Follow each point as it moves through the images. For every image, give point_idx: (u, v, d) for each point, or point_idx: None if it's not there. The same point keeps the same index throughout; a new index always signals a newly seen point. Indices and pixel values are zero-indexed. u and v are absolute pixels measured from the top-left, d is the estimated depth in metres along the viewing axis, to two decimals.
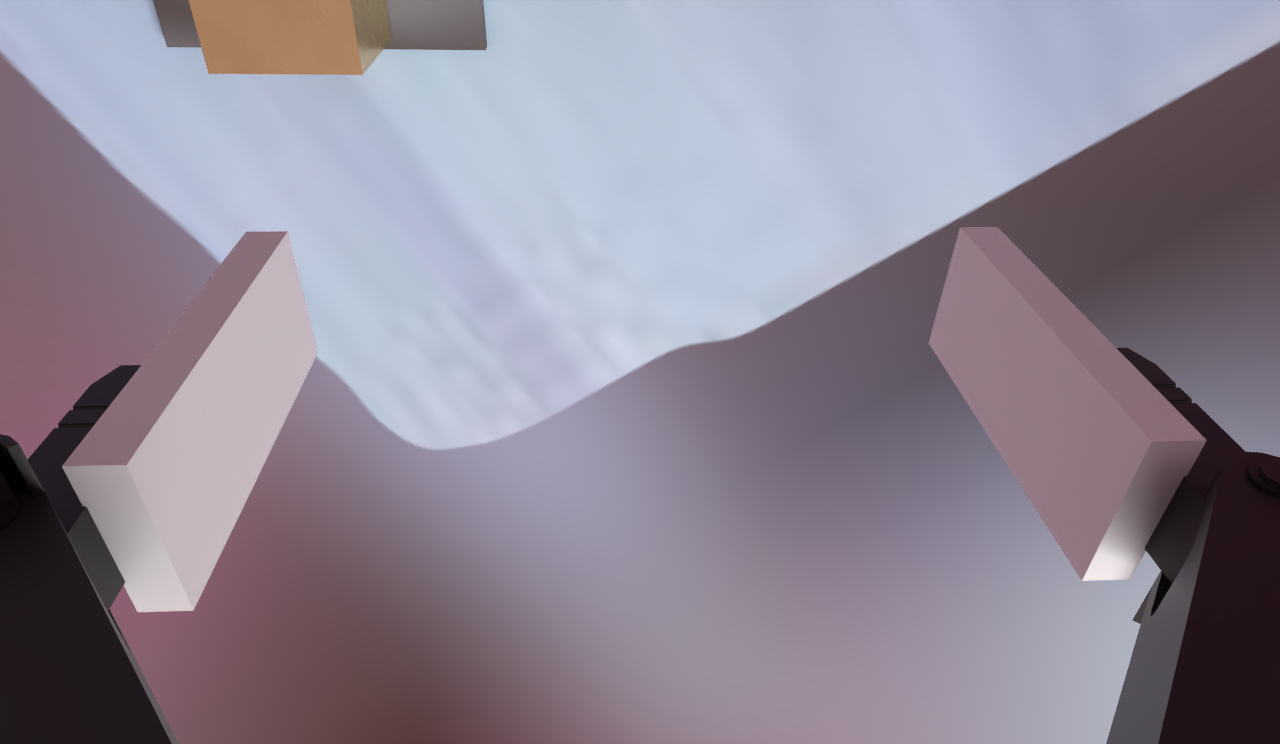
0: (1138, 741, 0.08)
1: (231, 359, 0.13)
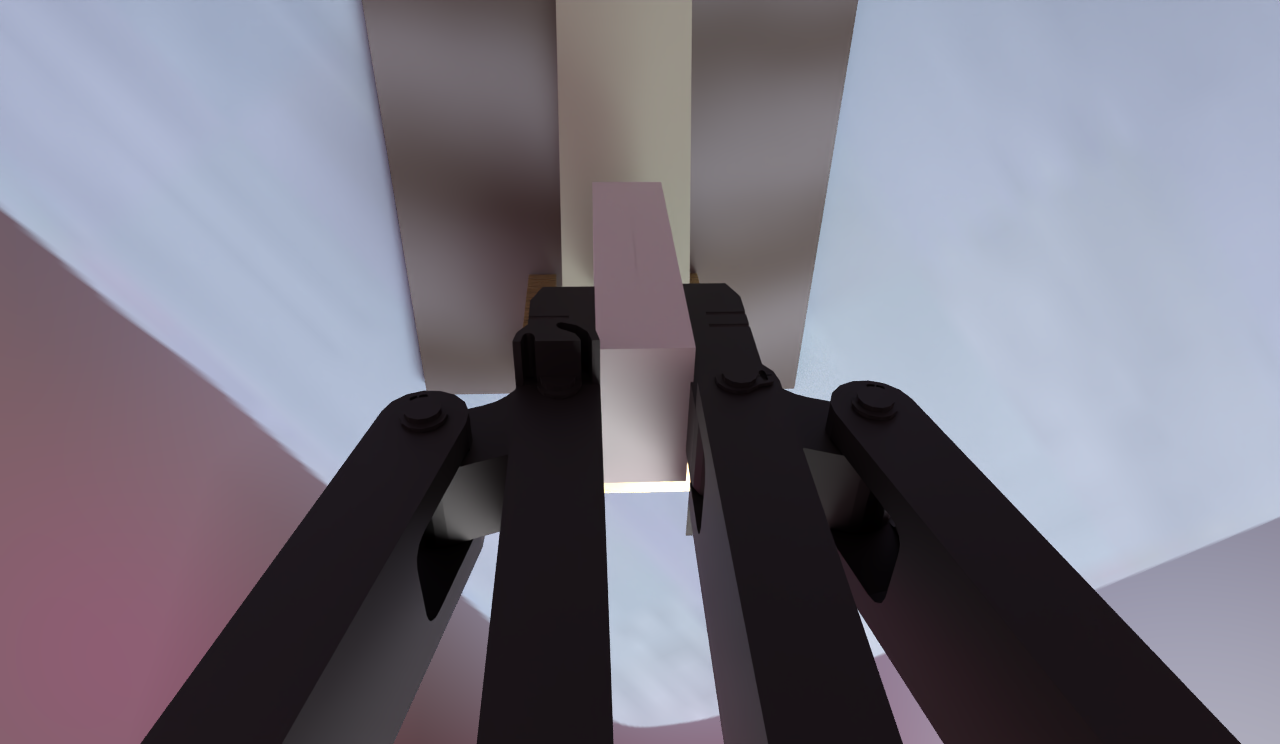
0: (737, 670, 0.09)
1: None
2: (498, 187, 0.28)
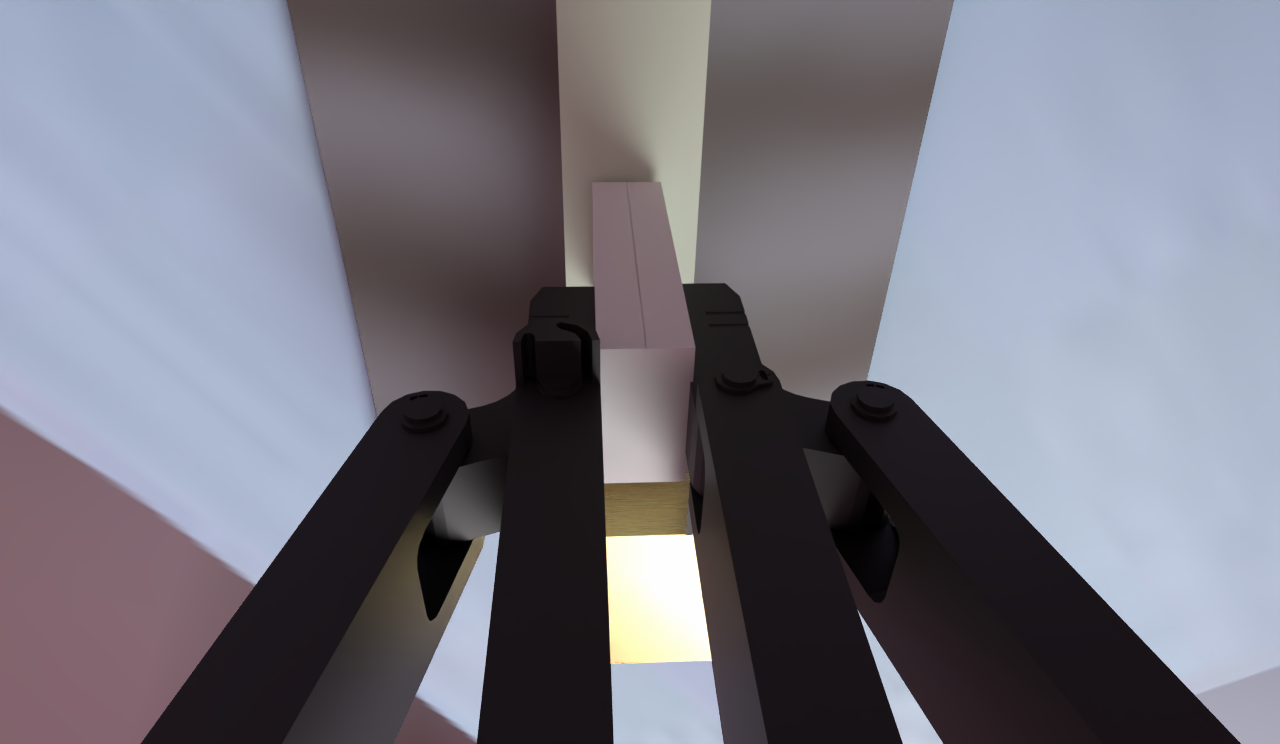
0: (737, 670, 0.09)
1: None
2: (480, 280, 0.22)
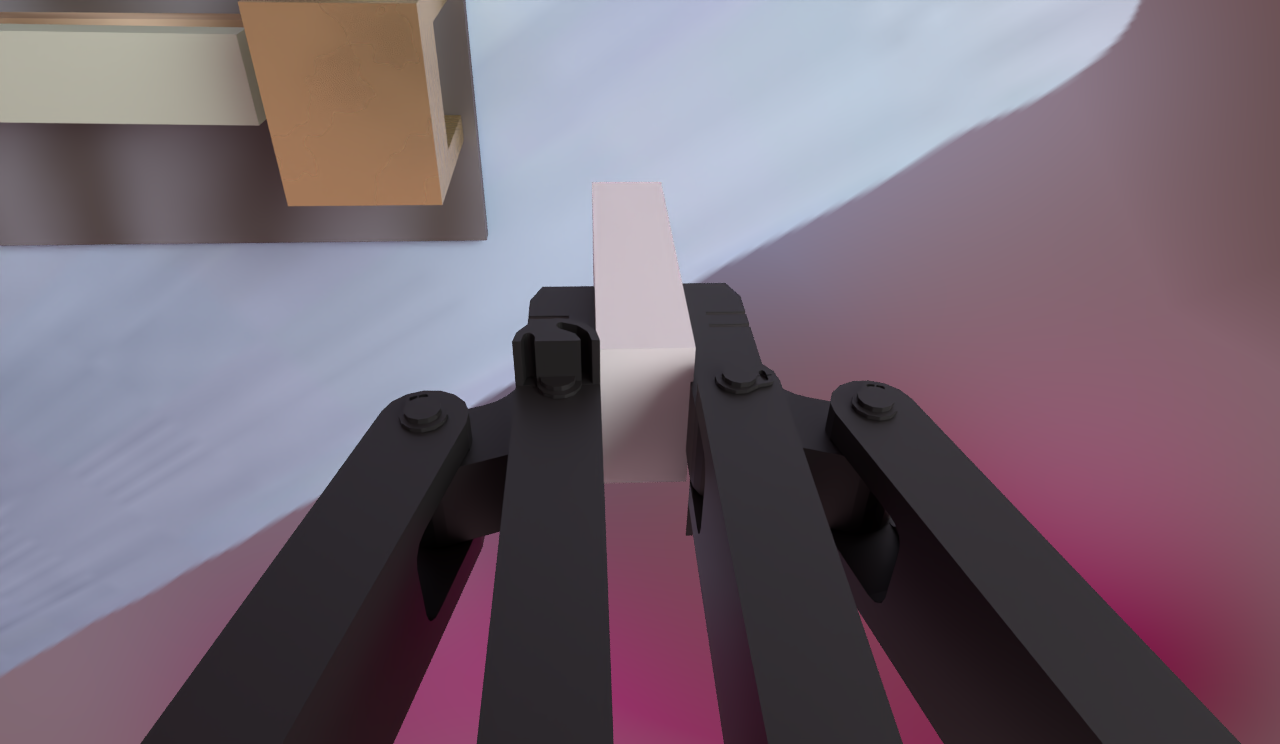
0: (737, 670, 0.09)
1: None
2: (253, 160, 0.32)
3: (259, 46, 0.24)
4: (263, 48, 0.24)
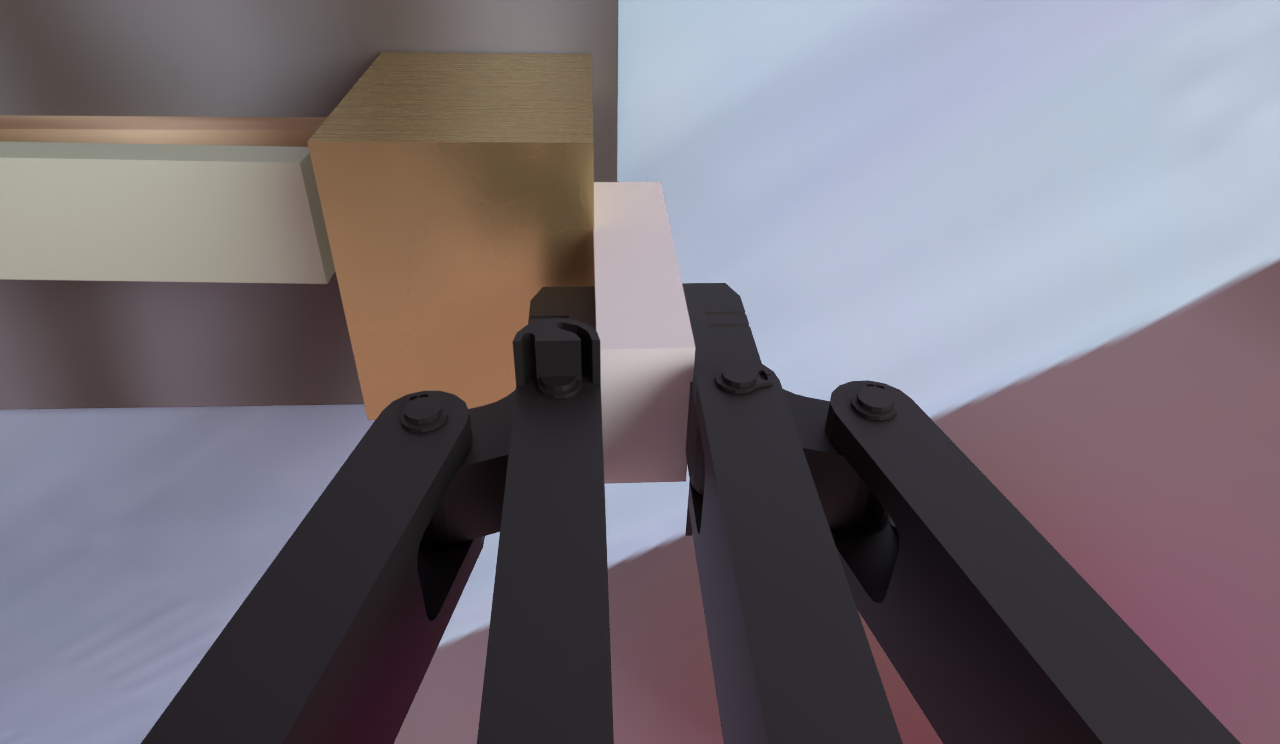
0: (737, 670, 0.09)
1: None
2: (308, 306, 0.23)
3: (338, 206, 0.15)
4: (344, 208, 0.15)
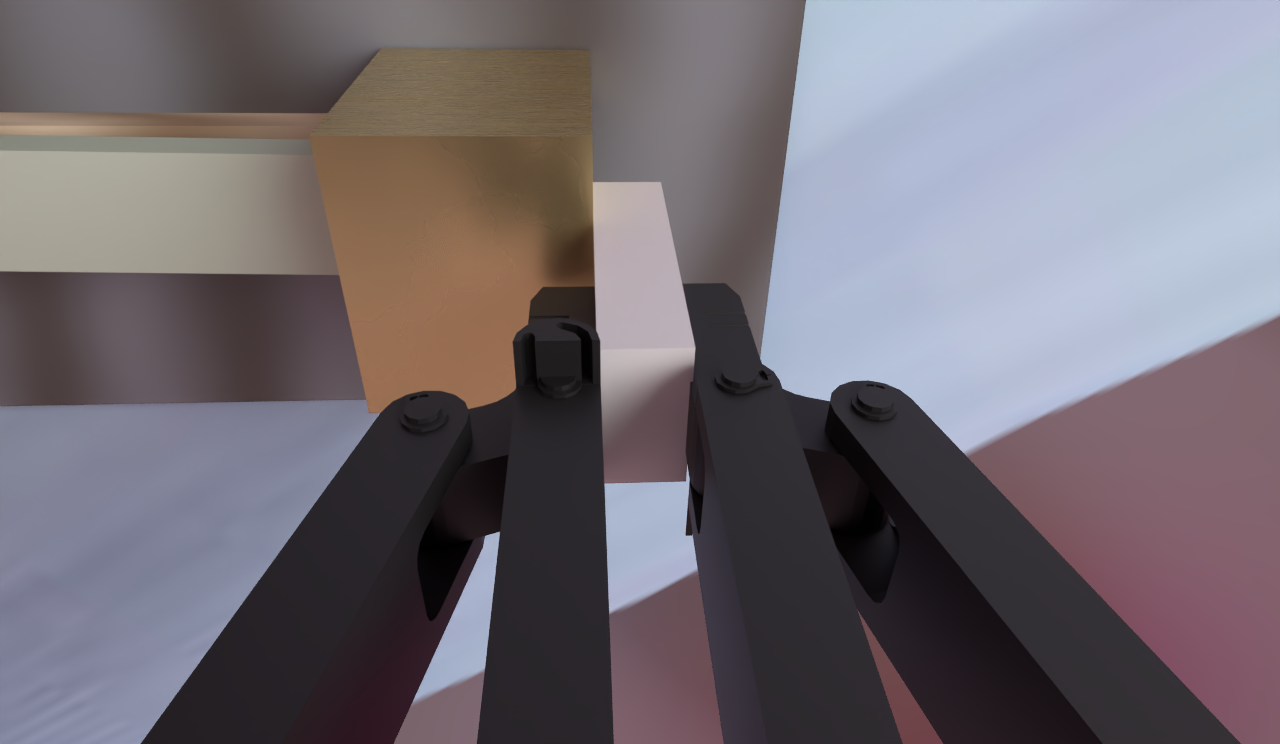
0: (737, 670, 0.09)
1: None
2: None
3: (339, 200, 0.15)
4: (345, 202, 0.15)
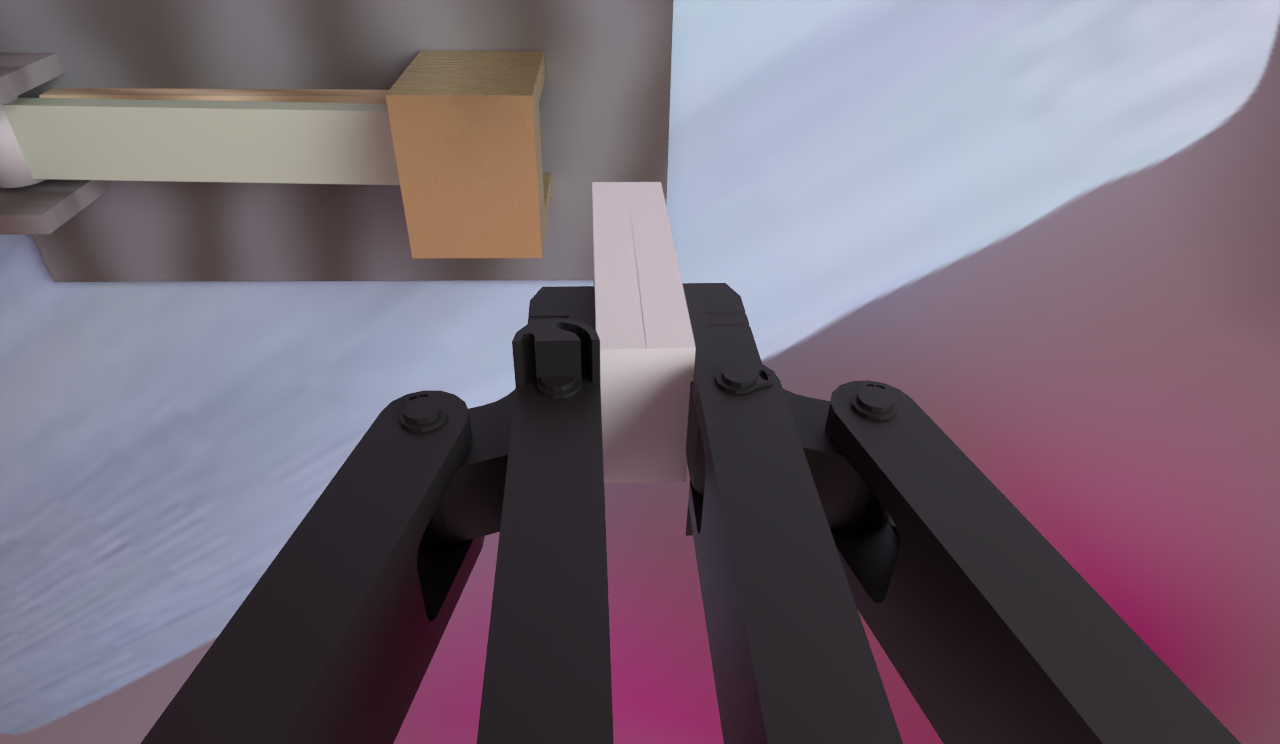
0: (737, 670, 0.09)
1: None
2: None
3: (400, 130, 0.28)
4: (403, 131, 0.28)
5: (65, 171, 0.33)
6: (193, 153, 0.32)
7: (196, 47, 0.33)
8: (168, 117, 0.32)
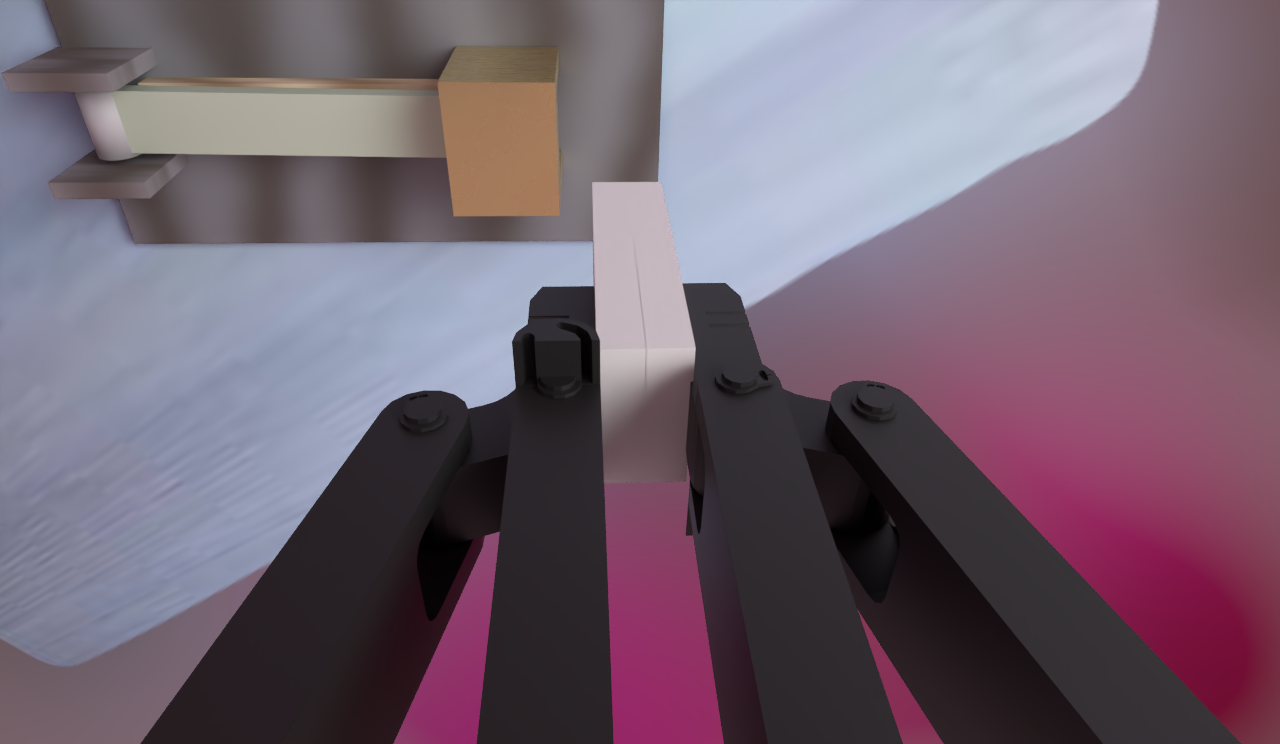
0: (737, 670, 0.09)
1: None
2: None
3: (448, 110, 0.35)
4: (450, 111, 0.35)
5: (159, 146, 0.39)
6: (268, 131, 0.39)
7: (269, 43, 0.39)
8: (249, 101, 0.38)
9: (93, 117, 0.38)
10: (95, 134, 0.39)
